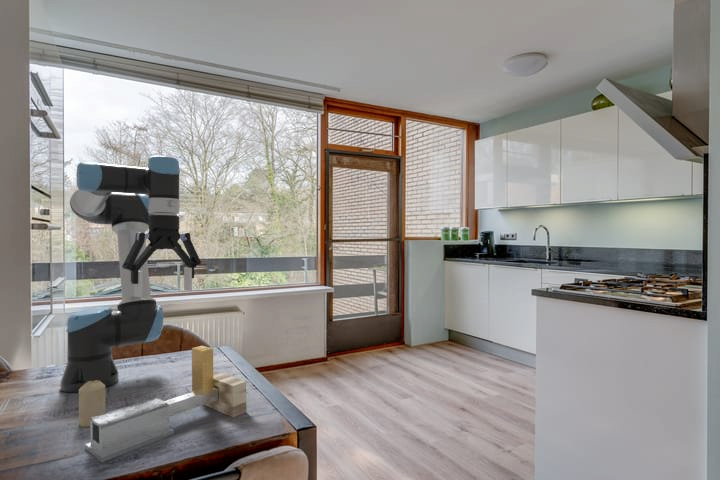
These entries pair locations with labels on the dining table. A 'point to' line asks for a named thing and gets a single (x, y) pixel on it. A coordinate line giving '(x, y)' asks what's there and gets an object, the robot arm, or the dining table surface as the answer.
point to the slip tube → (197, 383)
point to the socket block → (229, 395)
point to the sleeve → (128, 429)
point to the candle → (91, 401)
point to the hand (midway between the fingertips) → (164, 293)
